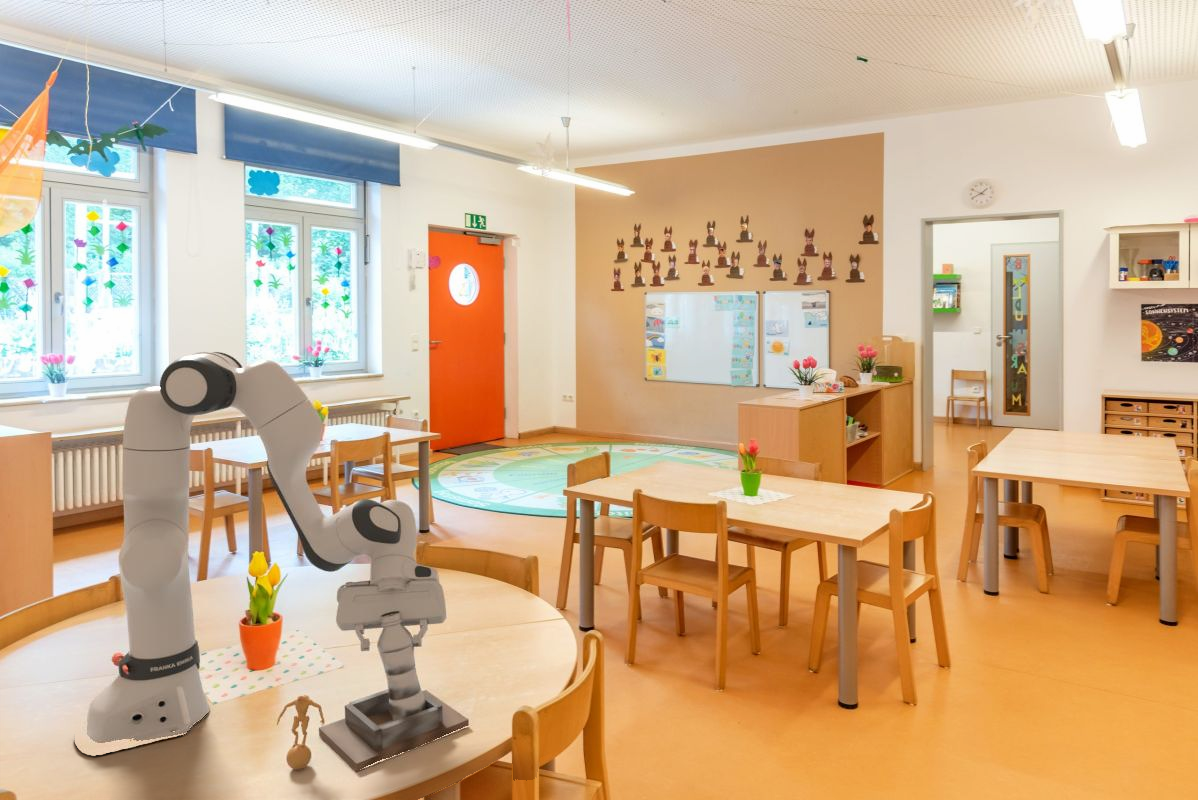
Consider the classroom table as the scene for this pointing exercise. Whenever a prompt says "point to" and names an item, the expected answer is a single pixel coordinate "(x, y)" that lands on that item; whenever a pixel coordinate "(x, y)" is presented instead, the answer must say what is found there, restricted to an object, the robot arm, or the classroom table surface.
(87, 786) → the classroom table surface
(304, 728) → the figurine
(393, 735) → the bottle holder board
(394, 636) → the plastic bottle
